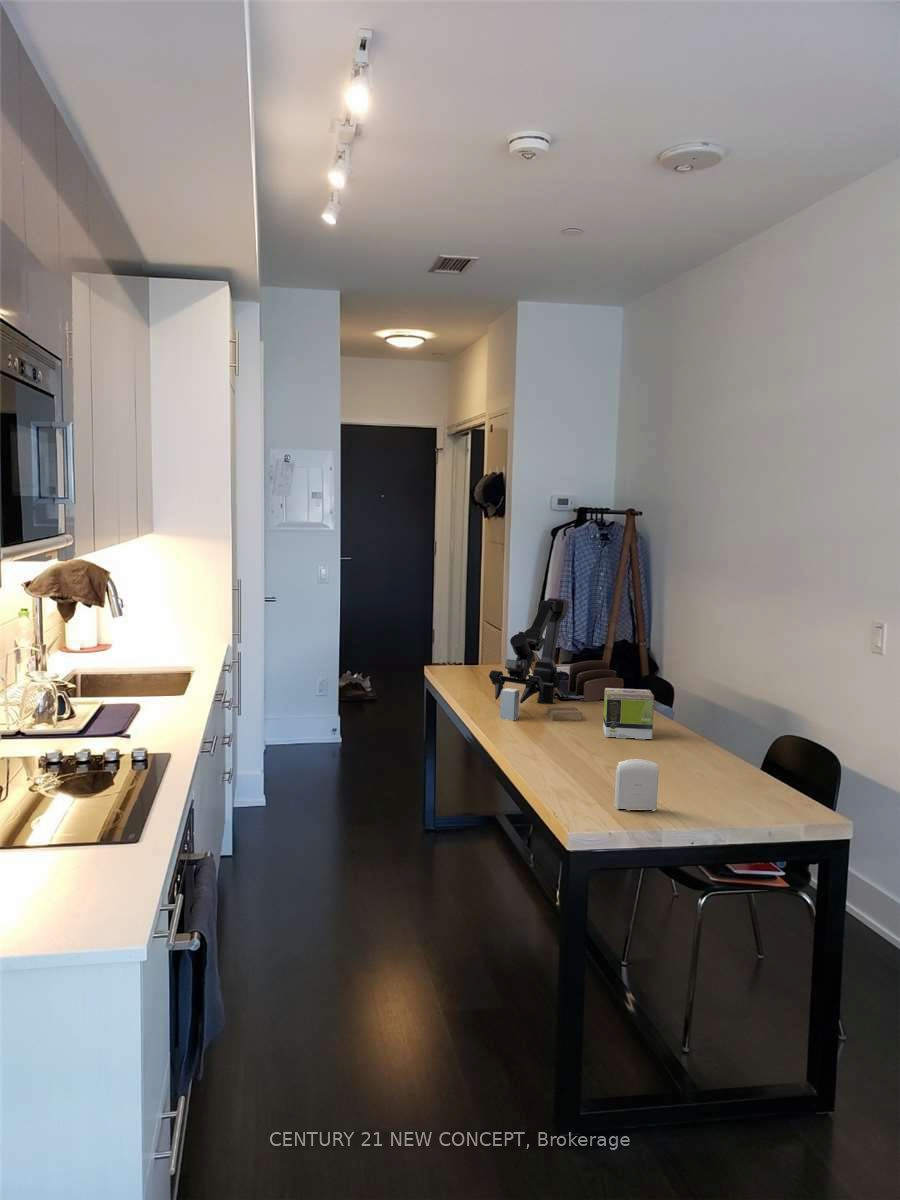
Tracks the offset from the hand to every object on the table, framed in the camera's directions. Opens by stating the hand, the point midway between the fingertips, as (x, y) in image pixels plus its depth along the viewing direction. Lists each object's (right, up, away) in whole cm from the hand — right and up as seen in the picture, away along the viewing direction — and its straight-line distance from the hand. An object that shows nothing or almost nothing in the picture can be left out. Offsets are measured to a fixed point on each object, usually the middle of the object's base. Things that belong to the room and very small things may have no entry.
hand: (508, 700), depth 302 cm
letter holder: (+37, -4, +42) cm, 56 cm away
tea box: (+38, -10, -14) cm, 41 cm away
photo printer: (+25, -17, -85) cm, 90 cm away
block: (+20, -7, +7) cm, 22 cm away
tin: (0, -6, +2) cm, 7 cm away
